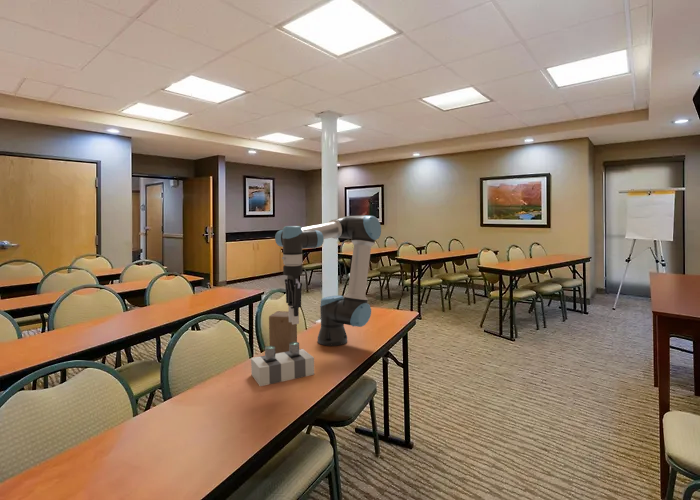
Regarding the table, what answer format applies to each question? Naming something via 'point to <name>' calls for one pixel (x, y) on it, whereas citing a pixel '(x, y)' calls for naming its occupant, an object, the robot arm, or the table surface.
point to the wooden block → (281, 331)
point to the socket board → (282, 367)
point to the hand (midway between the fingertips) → (293, 322)
